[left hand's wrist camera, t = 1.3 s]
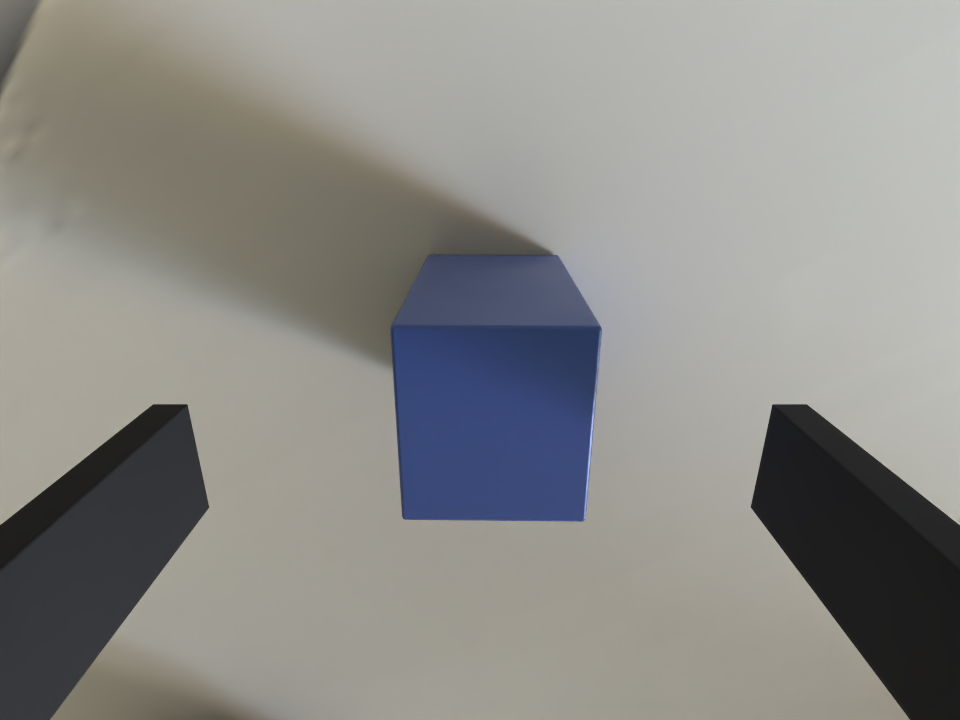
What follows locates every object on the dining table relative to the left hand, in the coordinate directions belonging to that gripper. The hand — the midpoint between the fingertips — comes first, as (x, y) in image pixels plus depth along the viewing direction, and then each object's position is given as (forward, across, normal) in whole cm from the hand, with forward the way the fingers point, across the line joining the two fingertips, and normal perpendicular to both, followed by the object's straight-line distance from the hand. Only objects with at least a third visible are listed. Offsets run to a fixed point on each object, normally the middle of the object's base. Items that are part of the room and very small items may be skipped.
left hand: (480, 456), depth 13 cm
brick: (+9, 0, 0) cm, 9 cm away
